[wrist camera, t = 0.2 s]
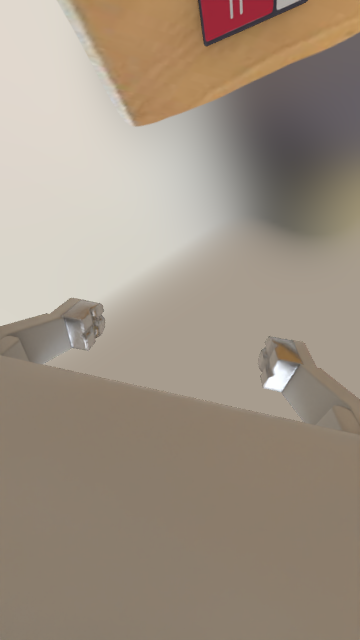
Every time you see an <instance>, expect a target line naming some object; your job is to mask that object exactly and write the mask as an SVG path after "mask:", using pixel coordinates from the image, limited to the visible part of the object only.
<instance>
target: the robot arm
mask: <svg viewBox="0 0 360 640" xmlns="http://www.w3.org/2000/svg"><path fill="white" fill-rule="evenodd" d="M103 312H104V309H103V305H102V304H100V303H95V302H90V301H86V300H81V299H76V298H70V299H69V300H67V301H66V302H65V303H63V304H62V305H61V306H59V307H58V308H57V309H55V310H54V311H53V312H52V313H50V314H47V313H46V314H43V315H39V316H36V317H32V318H29V319H25V320H21V321H18V322H14V323H11V324H7V325H3V326H0V640H360V399H359V398H357V397H356V396H355V395H353V394H352V393H351V392H350V391H348V390H347V389H346V388H345V387H343V386H342V385H341V384H340V383H338V382H337V381H336V380H335V379H333V378H332V377H331V376H330V375H328V374H327V373H326V372H324V371H323V370H322V369H321V368H317V367H316V365H315V363H314V361H313V359H312V357H311V355H310V353H309V351H308V349H307V347H306V345H305V343H303V342H300V341H295V340H287V339H281V338H276V337H270V336H269V337H268V338H267V339H266V341H265V345H266V347H265V348H264V349H262V350H261V353H260V355H259V360H258V365H259V369H260V370H261V371H262V374H261V382H262V387H263V388H266V389H270V390H274V391H278V392H282V394H283V396H284V397H285V398H286V399H287V401H288V402H289V403H290V405H291V406H292V407H293V409H294V410H295V411H296V413H297V414H298V415H299V416H300V418H301V419H302V420H303V422H299V421H295V420H291V419H286V418H281V417H277V416H272V415H268V414H263V413H258V412H254V411H250V410H245V409H241V408H236V407H232V406H227V405H223V404H218V403H213V402H209V401H204V400H200V399H196V398H191V397H187V396H183V395H178V394H173V393H169V392H164V391H159V390H155V389H151V388H146V387H142V386H137V385H133V384H128V383H124V382H119V381H115V380H110V379H106V378H101V377H97V376H92V375H88V374H83V373H79V372H74V371H70V370H65V369H61V368H56V367H52V366H47V365H43V364H44V363H46V362H48V361H49V360H51V359H53V358H55V357H57V356H59V355H60V354H62V353H64V352H66V351H68V350H70V349H71V348H76V349H82V350H87V351H88V350H89V349H90V348H91V346H92V345H93V344H94V343H95V338H97V337H99V336H100V335H101V334H102V332H103V330H104V328H105V319H104V317H103V316H102V315H101V314H102V313H103Z"/></svg>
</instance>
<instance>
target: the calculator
mask: <svg viewBox="0 0 360 640" xmlns="http://www.w3.org/2000/svg"><path fill="white" fill-rule="evenodd" d="M307 1H308V0H198V3H199V11H200V18H201V26H202V34H203V41H204V45H205V46H209V45H211V44H213V43H216V42H218V41H220V40H222V39H225V38H227V37H229V36H231V35H234V34H236V33H238V32H240V31H243V30H245V29H247V28H249V27H252V26H254V25H256V24H258V23H261V22H263V21H265V20H267V19H270V18H272V17H274V16H276V15H279V14H281V13H283V12H286V11H288V10H290V9H292V8H295V7H297V6H299V5H301V4H303V3H306V2H307Z"/></svg>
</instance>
